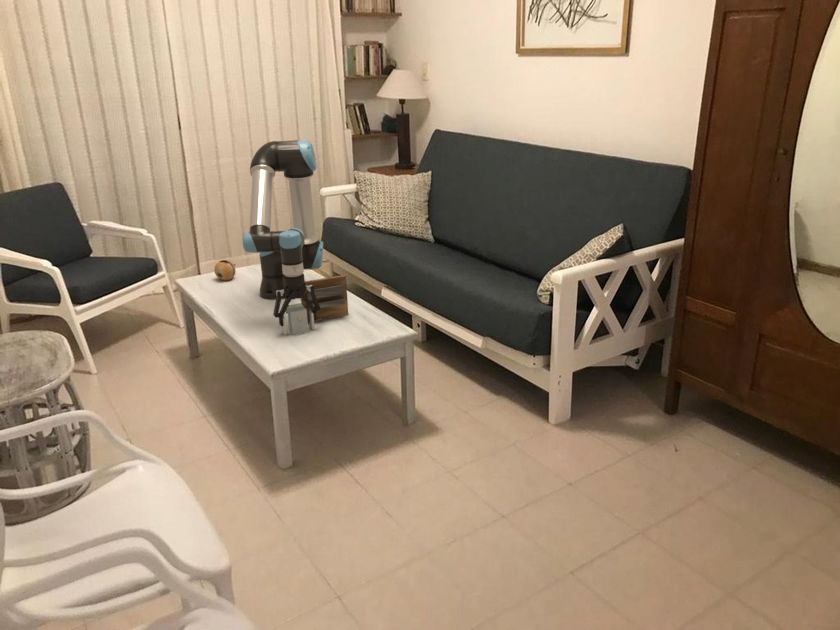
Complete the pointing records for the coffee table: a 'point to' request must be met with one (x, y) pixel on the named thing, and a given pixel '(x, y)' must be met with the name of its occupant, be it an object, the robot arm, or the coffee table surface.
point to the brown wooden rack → (328, 297)
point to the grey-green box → (297, 319)
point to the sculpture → (225, 270)
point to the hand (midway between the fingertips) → (298, 330)
